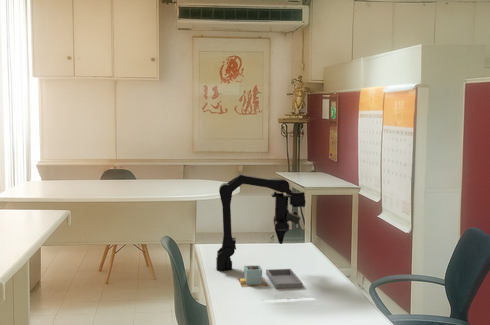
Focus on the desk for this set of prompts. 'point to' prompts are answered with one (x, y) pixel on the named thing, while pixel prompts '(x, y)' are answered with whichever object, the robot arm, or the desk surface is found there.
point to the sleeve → (252, 276)
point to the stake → (256, 284)
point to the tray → (283, 279)
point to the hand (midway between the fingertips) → (280, 241)
